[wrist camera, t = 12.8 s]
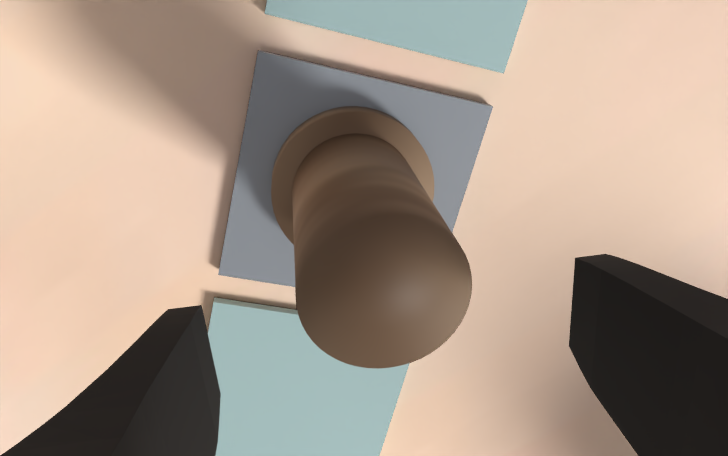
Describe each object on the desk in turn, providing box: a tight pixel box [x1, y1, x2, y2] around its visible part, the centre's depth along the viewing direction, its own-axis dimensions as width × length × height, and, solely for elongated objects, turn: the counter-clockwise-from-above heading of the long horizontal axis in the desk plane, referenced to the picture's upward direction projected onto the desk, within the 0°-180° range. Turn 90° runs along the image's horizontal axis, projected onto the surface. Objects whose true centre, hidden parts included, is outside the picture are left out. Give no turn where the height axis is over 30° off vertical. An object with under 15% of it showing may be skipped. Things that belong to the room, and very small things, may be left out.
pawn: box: [271, 106, 472, 369], centre depth 15 cm, size 5×5×7 cm
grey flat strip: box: [208, 0, 528, 456], centre depth 19 cm, size 7×39×1 cm, turn 166°
